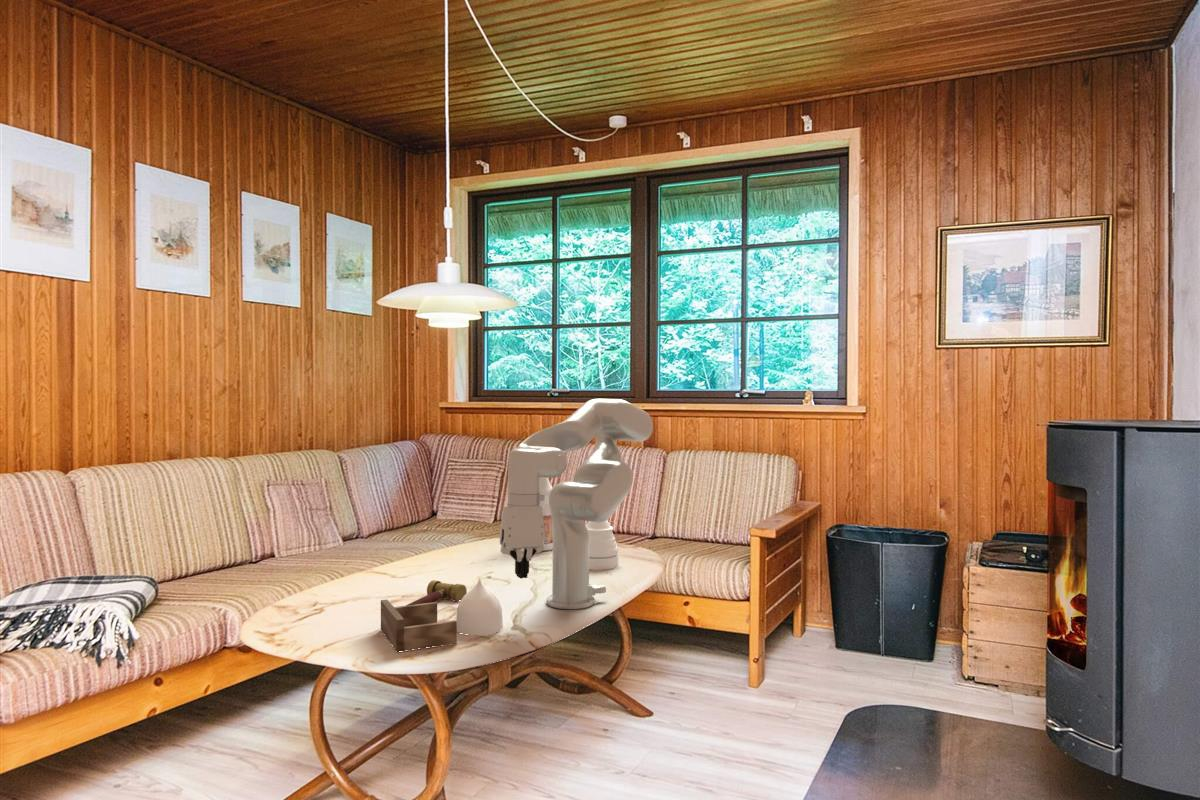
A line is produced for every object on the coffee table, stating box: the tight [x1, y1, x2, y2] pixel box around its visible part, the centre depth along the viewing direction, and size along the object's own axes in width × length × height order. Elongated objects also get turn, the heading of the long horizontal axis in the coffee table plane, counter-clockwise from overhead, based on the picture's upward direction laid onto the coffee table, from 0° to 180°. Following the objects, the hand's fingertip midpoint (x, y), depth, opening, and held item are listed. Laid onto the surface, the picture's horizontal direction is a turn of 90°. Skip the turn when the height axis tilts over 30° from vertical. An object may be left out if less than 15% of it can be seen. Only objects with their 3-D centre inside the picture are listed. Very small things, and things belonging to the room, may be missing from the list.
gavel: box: [405, 579, 468, 606], centre depth 203 cm, size 21×5×10 cm
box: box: [380, 599, 458, 653], centre depth 178 cm, size 13×17×7 cm
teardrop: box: [455, 577, 504, 636], centre depth 185 cm, size 11×11×12 cm
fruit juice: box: [539, 477, 554, 552], centre depth 274 cm, size 9×9×28 cm
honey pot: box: [585, 519, 619, 570], centre depth 250 cm, size 13×13×18 cm
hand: (521, 576), depth 189 cm, fingers closed
